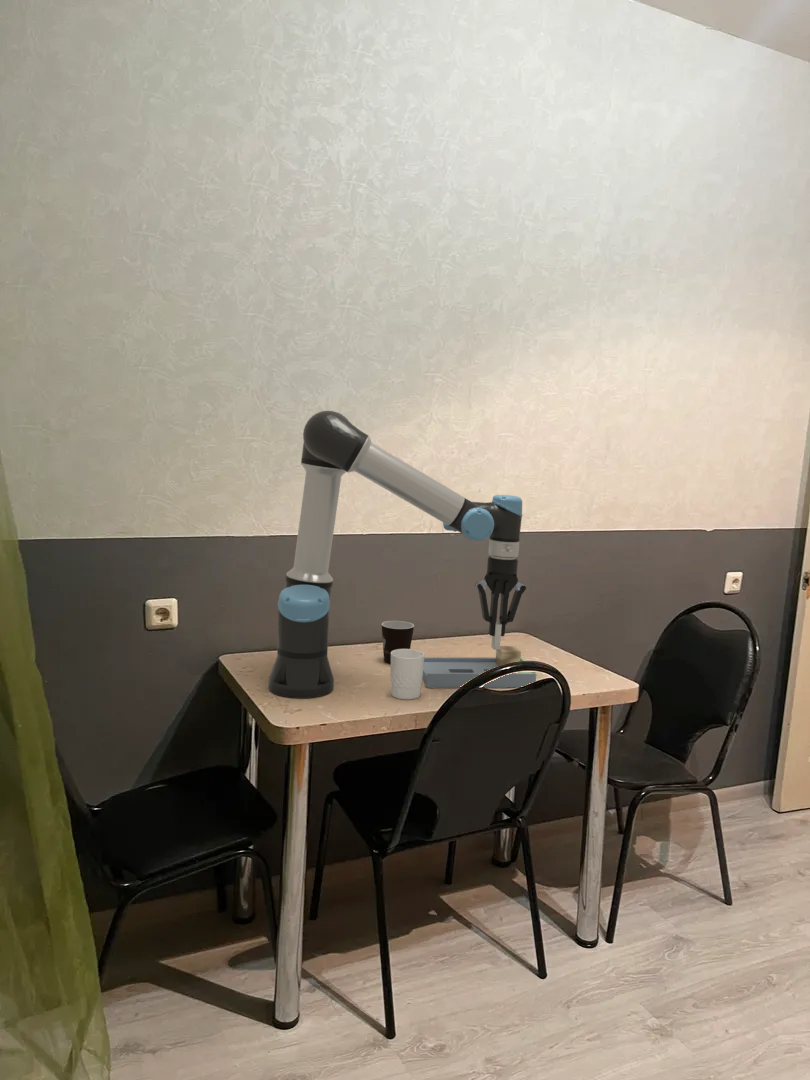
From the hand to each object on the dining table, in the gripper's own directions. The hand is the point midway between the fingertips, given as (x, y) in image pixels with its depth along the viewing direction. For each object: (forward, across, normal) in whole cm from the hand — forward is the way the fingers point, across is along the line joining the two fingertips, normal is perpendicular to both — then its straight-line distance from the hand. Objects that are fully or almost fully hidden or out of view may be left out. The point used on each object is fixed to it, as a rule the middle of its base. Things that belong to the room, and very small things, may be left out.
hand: (495, 648), depth 206 cm
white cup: (+8, -25, -15) cm, 30 cm away
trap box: (+7, -6, -3) cm, 10 cm away
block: (+5, +4, 0) cm, 6 cm away
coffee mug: (+8, -23, +13) cm, 28 cm away
